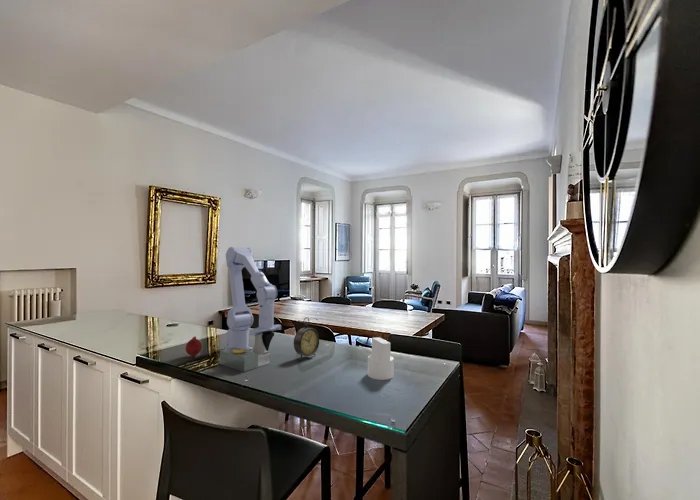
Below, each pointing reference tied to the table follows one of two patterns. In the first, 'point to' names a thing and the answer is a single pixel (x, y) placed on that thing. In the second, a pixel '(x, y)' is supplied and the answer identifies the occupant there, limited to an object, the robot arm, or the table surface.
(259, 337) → the flask
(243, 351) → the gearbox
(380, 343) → the base with upright slab
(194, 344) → the onion
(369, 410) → the table surface
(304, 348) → the alarm clock
